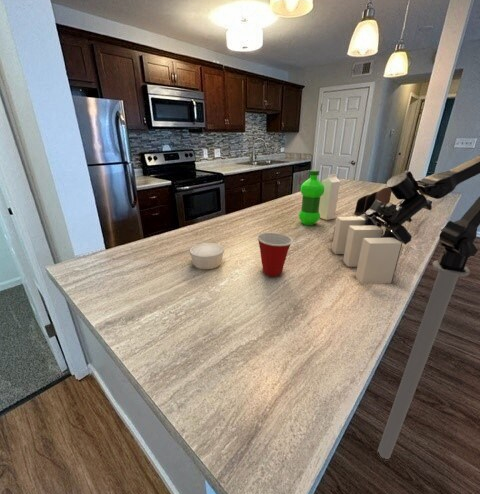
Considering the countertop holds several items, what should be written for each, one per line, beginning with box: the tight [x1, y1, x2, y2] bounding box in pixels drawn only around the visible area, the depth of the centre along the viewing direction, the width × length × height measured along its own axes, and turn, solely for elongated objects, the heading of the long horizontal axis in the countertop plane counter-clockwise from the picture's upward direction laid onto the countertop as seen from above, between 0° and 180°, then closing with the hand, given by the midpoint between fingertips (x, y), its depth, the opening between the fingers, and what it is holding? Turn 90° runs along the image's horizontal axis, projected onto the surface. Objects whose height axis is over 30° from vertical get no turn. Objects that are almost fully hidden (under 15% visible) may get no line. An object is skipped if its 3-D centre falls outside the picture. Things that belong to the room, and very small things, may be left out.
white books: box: [331, 216, 403, 285], centre depth 86 cm, size 9×24×13 cm, turn 3°
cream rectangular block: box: [342, 225, 384, 268], centre depth 86 cm, size 9×4×13 cm, turn 92°
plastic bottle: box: [298, 169, 324, 226], centre depth 122 cm, size 10×10×25 cm
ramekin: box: [189, 242, 225, 270], centre depth 87 cm, size 11×11×5 cm
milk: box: [319, 173, 341, 221], centre depth 131 cm, size 6×6×22 cm
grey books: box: [332, 214, 383, 242], centre depth 111 cm, size 9×26×6 cm, turn 133°
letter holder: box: [354, 187, 392, 216], centre depth 141 cm, size 10×20×14 cm, turn 132°
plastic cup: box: [256, 231, 294, 277], centre depth 81 cm, size 11×11×12 cm
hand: (364, 242), depth 85 cm, fingers open, 9 cm apart
